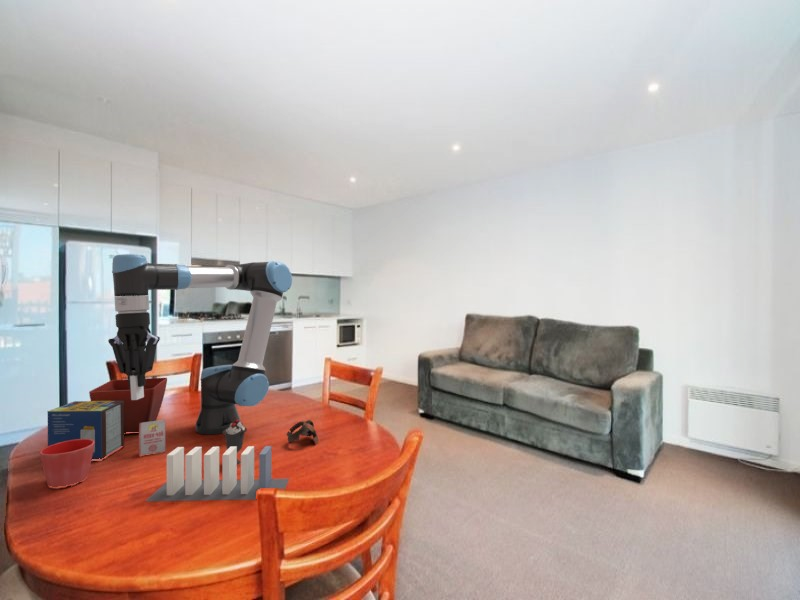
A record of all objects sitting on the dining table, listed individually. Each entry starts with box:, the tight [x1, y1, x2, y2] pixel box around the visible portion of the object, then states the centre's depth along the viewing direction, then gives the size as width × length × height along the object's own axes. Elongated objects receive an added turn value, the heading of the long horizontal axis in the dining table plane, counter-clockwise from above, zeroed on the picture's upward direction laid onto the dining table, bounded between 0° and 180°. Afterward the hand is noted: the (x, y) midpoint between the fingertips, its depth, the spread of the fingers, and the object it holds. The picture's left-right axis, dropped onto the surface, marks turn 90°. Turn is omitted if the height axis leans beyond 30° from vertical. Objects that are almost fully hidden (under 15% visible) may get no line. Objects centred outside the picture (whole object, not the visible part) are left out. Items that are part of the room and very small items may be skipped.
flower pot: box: [39, 439, 95, 487], centre depth 99 cm, size 11×11×10 cm
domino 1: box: [166, 446, 185, 495], centre depth 94 cm, size 5×2×10 cm, turn 3°
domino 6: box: [258, 445, 273, 489], centre depth 96 cm, size 5×2×10 cm, turn 3°
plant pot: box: [88, 377, 168, 433], centre depth 137 cm, size 19×19×17 cm
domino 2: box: [184, 446, 203, 495], centre depth 95 cm, size 5×2×10 cm, turn 3°
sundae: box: [221, 416, 248, 466], centre depth 110 cm, size 7×7×15 cm
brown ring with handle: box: [286, 419, 319, 446], centre depth 128 cm, size 12×10×8 cm
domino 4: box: [221, 446, 238, 494], centre depth 95 cm, size 5×2×10 cm, turn 3°
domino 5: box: [240, 445, 255, 494], centre depth 95 cm, size 5×2×10 cm, turn 3°
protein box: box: [47, 400, 125, 459], centre depth 115 cm, size 10×15×16 cm
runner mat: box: [144, 478, 290, 502], centre depth 95 cm, size 10×32×1 cm, turn 93°
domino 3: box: [203, 446, 220, 495], centre depth 95 cm, size 5×2×10 cm, turn 3°
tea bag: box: [138, 419, 166, 457], centre depth 117 cm, size 4×7×10 cm, turn 121°
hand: (137, 398), depth 101 cm, fingers closed
